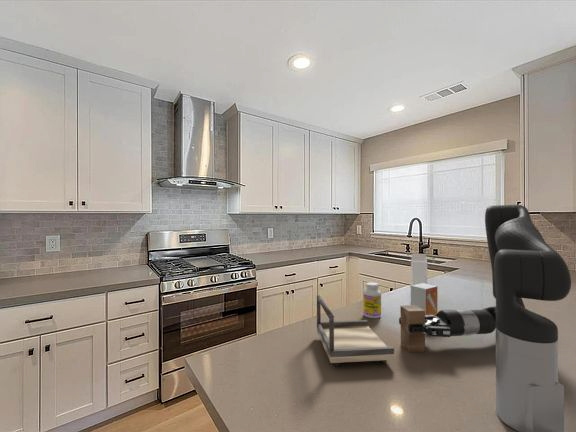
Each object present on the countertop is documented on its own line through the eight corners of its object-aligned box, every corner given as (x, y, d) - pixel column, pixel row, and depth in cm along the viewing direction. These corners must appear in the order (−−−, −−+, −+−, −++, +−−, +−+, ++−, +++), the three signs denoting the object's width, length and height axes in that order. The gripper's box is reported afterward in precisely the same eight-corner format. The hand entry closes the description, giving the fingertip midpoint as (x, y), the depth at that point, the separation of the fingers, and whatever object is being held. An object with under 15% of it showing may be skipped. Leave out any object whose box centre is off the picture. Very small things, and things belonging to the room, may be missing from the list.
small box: (426, 324, 102) (425, 289, 102) (410, 319, 108) (410, 285, 108) (438, 320, 107) (437, 285, 107) (422, 315, 112) (422, 282, 112)
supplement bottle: (361, 317, 110) (361, 284, 110) (365, 311, 116) (365, 280, 116) (379, 320, 107) (379, 286, 107) (382, 314, 113) (382, 282, 113)
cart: (394, 367, 74) (393, 313, 74) (330, 370, 73) (329, 316, 73) (366, 334, 94) (366, 292, 94) (316, 337, 93) (315, 294, 93)
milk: (411, 299, 133) (410, 252, 133) (425, 300, 131) (424, 253, 131) (413, 303, 127) (412, 254, 127) (427, 304, 125) (427, 254, 125)
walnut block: (425, 351, 83) (424, 310, 83) (408, 352, 82) (408, 311, 82) (416, 343, 88) (415, 305, 88) (400, 344, 87) (400, 305, 87)
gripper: (442, 303, 93) (393, 304, 92) (474, 319, 79) (416, 321, 78) (442, 325, 93) (393, 327, 92) (474, 345, 79) (416, 348, 78)
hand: (404, 324), depth 85 cm, fingers closed on walnut block, 5 cm apart
